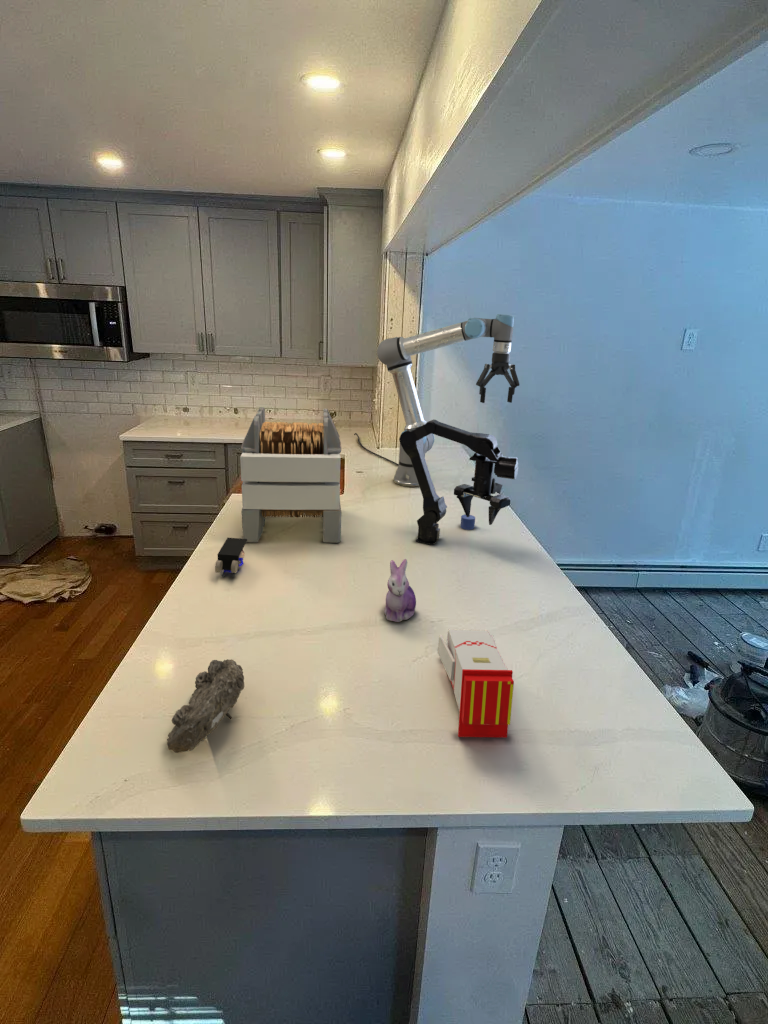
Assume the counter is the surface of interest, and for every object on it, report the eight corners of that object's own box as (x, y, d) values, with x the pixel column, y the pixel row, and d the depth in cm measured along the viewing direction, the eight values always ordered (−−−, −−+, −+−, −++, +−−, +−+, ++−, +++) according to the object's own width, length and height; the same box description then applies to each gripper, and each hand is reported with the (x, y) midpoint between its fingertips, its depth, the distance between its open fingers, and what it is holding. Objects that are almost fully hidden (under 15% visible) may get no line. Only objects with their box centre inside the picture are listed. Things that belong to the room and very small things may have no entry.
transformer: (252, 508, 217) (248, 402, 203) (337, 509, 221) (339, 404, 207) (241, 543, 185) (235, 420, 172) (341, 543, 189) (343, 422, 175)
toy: (488, 613, 130) (523, 677, 101) (484, 667, 133) (517, 744, 104) (435, 612, 130) (455, 676, 101) (432, 666, 133) (451, 743, 103)
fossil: (192, 660, 117) (244, 628, 112) (224, 691, 120) (276, 661, 115) (142, 746, 98) (202, 712, 93) (182, 779, 101) (242, 748, 96)
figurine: (392, 627, 141) (395, 572, 136) (374, 608, 149) (376, 556, 144) (425, 619, 145) (429, 566, 140) (405, 601, 154) (408, 550, 149)
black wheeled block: (238, 584, 162) (249, 557, 175) (236, 562, 158) (247, 536, 172) (215, 584, 161) (227, 556, 175) (212, 561, 158) (225, 535, 171)
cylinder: (468, 531, 205) (469, 520, 204) (457, 526, 209) (458, 516, 207) (477, 527, 209) (478, 517, 208) (465, 523, 212) (466, 513, 211)
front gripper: (522, 477, 179) (517, 523, 185) (475, 464, 192) (471, 508, 197) (502, 483, 172) (497, 531, 177) (454, 470, 184) (450, 515, 190)
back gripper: (479, 352, 236) (474, 404, 243) (531, 353, 244) (525, 403, 251) (471, 351, 242) (466, 401, 250) (522, 352, 250) (516, 400, 257)
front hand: (479, 520), depth 185 cm, fingers open, 9 cm apart
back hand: (495, 402), depth 250 cm, fingers open, 13 cm apart
